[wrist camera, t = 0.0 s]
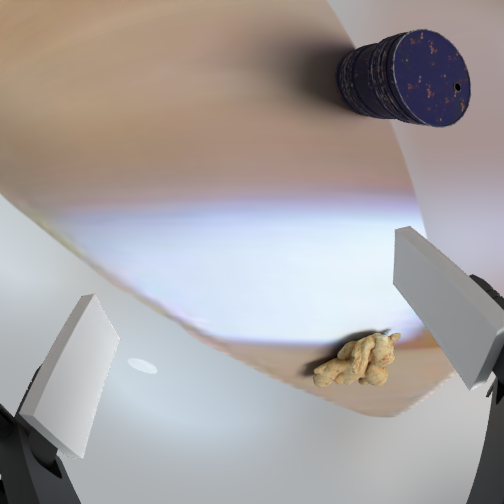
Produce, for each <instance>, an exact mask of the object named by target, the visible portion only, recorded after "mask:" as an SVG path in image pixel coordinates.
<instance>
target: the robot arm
mask: <svg viewBox="0 0 504 504" xmlns="http://www.w3.org/2000/svg"><path fill="white" fill-rule="evenodd" d="M393 284H394V286H395V287H396V288H397V289H398V291H399V292H400V293H401V295H402V296H403V297H404V298H405V300H406V301H407V302H408V304H409V305H410V306H411V308H412V309H413V310H414V311H415V313H416V314H417V315H418V317H419V318H420V319H421V321H422V322H423V324H424V325H425V326H426V328H427V329H428V330H429V332H430V333H431V334H432V336H433V337H434V339H435V340H436V341H437V343H438V344H439V346H440V347H441V349H442V350H443V351H444V353H445V354H446V356H447V357H448V359H449V360H450V362H451V363H452V365H453V366H454V368H455V369H456V371H457V372H458V374H459V375H460V377H461V378H462V380H463V381H464V383H465V384H466V386H467V388H468V389H469V391H471V390H473V389H475V388H476V387H478V386H480V385H482V384H484V383H485V382H486V381H487V379H488V377H489V375H490V373H491V372H492V371H493V372H494V374H495V375H496V378H495V380H494V382H493V384H492V385H491V387H490V389H489V390H488V392H487V395H486V397H489V396H490V394H491V392H492V391H493V394H492V401H491V409H490V415H489V421H488V426H487V431H486V436H485V441H484V446H483V450H482V454H481V458H480V462H479V466H478V469H477V473H476V476H475V479H474V483H473V486H472V489H471V492H470V495H469V498H468V501H467V503H466V504H504V298H503V297H502V296H501V297H500V295H499V293H497V291H496V290H493V288H492V287H491V286H490V285H489V284H488V283H487V282H486V281H484V280H483V279H481V278H479V277H477V276H475V275H473V274H472V275H470V276H468V275H467V274H466V273H464V271H463V270H461V269H460V268H459V267H458V266H457V265H456V264H455V263H454V262H452V261H451V260H450V259H449V258H448V257H447V256H446V255H444V254H443V253H442V252H441V251H440V250H439V249H437V248H436V247H435V246H434V245H433V244H431V243H430V242H429V241H428V240H427V239H425V238H424V237H423V236H422V235H420V234H419V233H418V232H417V231H415V230H414V229H413V228H412V227H410V226H408V227H404V228H399V229H395V254H394V275H393ZM119 341H120V339H119V337H118V335H117V333H116V332H115V330H114V328H113V327H112V325H111V323H110V322H109V319H108V318H107V316H106V314H105V312H104V310H103V308H102V307H101V305H100V303H99V301H98V299H97V297H96V295H95V294H91V295H85V296H82V297H81V298H80V300H79V301H78V303H77V305H76V306H75V308H74V310H73V311H72V313H71V314H70V316H69V318H68V320H67V321H66V323H65V324H64V326H63V328H62V330H61V331H60V333H59V335H58V337H57V338H56V340H55V342H54V344H53V346H52V347H51V349H50V351H49V353H48V355H47V357H46V359H45V360H44V362H43V364H42V365H41V366H40V367H39V368H38V369H37V371H36V372H35V374H34V376H33V378H32V382H30V384H29V386H28V390H26V393H25V395H24V397H23V399H22V401H21V403H20V405H19V408H18V410H17V412H16V414H15V417H13V416H12V415H11V414H10V413H9V412H8V411H7V410H6V409H5V408H4V407H3V406H2V405H1V404H0V474H1V480H0V504H81V502H80V500H79V498H78V496H77V494H76V492H75V490H74V488H73V486H72V484H71V481H70V479H69V477H68V475H67V473H66V470H65V468H64V466H63V463H62V461H61V460H60V458H59V457H58V456H57V455H56V453H57V450H58V449H59V450H60V451H61V452H62V453H63V454H65V455H66V456H67V457H72V458H77V459H83V457H84V453H85V449H86V445H87V441H88V438H89V433H90V430H91V426H92V423H93V420H94V416H95V413H96V409H97V406H98V403H99V400H100V397H101V394H102V390H103V387H104V384H105V381H106V378H107V375H108V372H109V369H110V366H111V364H112V361H113V358H114V355H115V352H116V349H117V346H118V344H119Z"/></svg>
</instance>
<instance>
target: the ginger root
mask: <svg viewBox="0 0 504 504" xmlns="http://www.w3.org/2000/svg"><path fill="white" fill-rule="evenodd" d="M400 336H401V334H400V333H395V334H392V335H391V336H386V335H385V336H384V335H383V334H381V333H374V334H373V335H369V336H367V337H364V338H362V339H361V340H359V341H350V342H348V343H346V344H345V345H344V347H343V348H342V349H341V350H340V351H339V353H338V355H337V357H338V358H334V359H332V360H330V361H328V362H326V363H324V364H322V365H320V366H319V367H317V368H315V369H314V373H315V375H314V376H313V379H314V380H313V381H314V384H315V385H316V386H318V387H320V388H324V387H326V386H327V385H329V384H330V383H331V382H332V381H333V380H334V381H335V382H336V383H337V384H342V383H344V384H346V385H348V384H351V383H352V382H353V381H356V380H357V379H359V383H360V384H362V385H366V384H369V383H370V384H372V385H375V386H382V385H385V382H386V380H387V377H388V373H387V371H386V368H385V366H387V365H389V364H392V362H393V360H394V359H395V356H394V355H393V351H394V349H395V348H394V346H393V344H394V343H395V342H396V341H397V340H398V339H399V338H400Z"/></svg>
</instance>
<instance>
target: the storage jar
mask: <svg viewBox="0 0 504 504" xmlns="http://www.w3.org/2000/svg"><path fill="white" fill-rule="evenodd" d="M336 86H337V90H338V92H339V95H340V97H341V98H342V100H343V101H344V102H345V104H346V105H347V106H348V107H349V108H350V109H352V110H353V111H355V112H356V113H359V114H361V115H364V116H370V117H373V118H379V119H398V120H400V121H403V122H406V123H412V124H417V125H427V126H432V127H438V128H444V127H449V126H452V125H453V124H455V123H457V122H458V121H459V120H460V119H461V118H462V117H463V115H464V114H465V113H466V110H467V108H468V106H469V102H470V97H471V82H470V76H469V72H468V69H467V66H466V64H465V61H464V59H463V57H462V56H461V54H460V53H459V51H458V50H457V49H456V47H455V46H454V45H453V44H452V43H451V42H450V41H449V40H448V39H446V38H445V37H444V36H442V35H440V34H439V33H437V32H434V31H432V30H427V29H418V30H413V31H410V32H406V33H400V34H397V35H394V36H391V37H387V38H385V39H383V40H382V41H380V42H379V43H374V44H370V45H366V46H362V47H360V48H358V49H356V50H354V51H352V52H350V53H348V54H347V55H345V56H344V57H343V58H342V59H341V61H340V62H339V64H338V67H337V70H336Z"/></svg>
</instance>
